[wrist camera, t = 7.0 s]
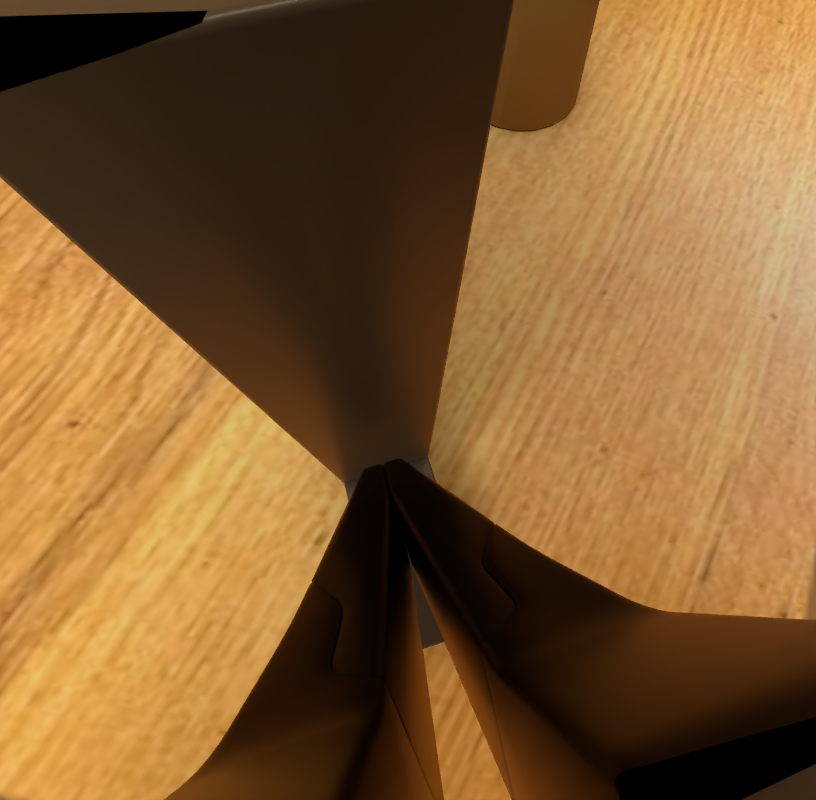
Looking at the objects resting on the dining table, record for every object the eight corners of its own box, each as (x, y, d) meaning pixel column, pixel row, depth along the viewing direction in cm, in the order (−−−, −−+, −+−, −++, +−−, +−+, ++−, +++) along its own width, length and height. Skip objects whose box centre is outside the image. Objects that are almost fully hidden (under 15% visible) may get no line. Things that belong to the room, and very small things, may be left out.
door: (428, 457, 14) (527, -47, 2) (343, 483, 14) (-112, 83, 2) (357, 236, 17) (225, -517, 5) (285, 254, 17) (-41, -491, 5)
